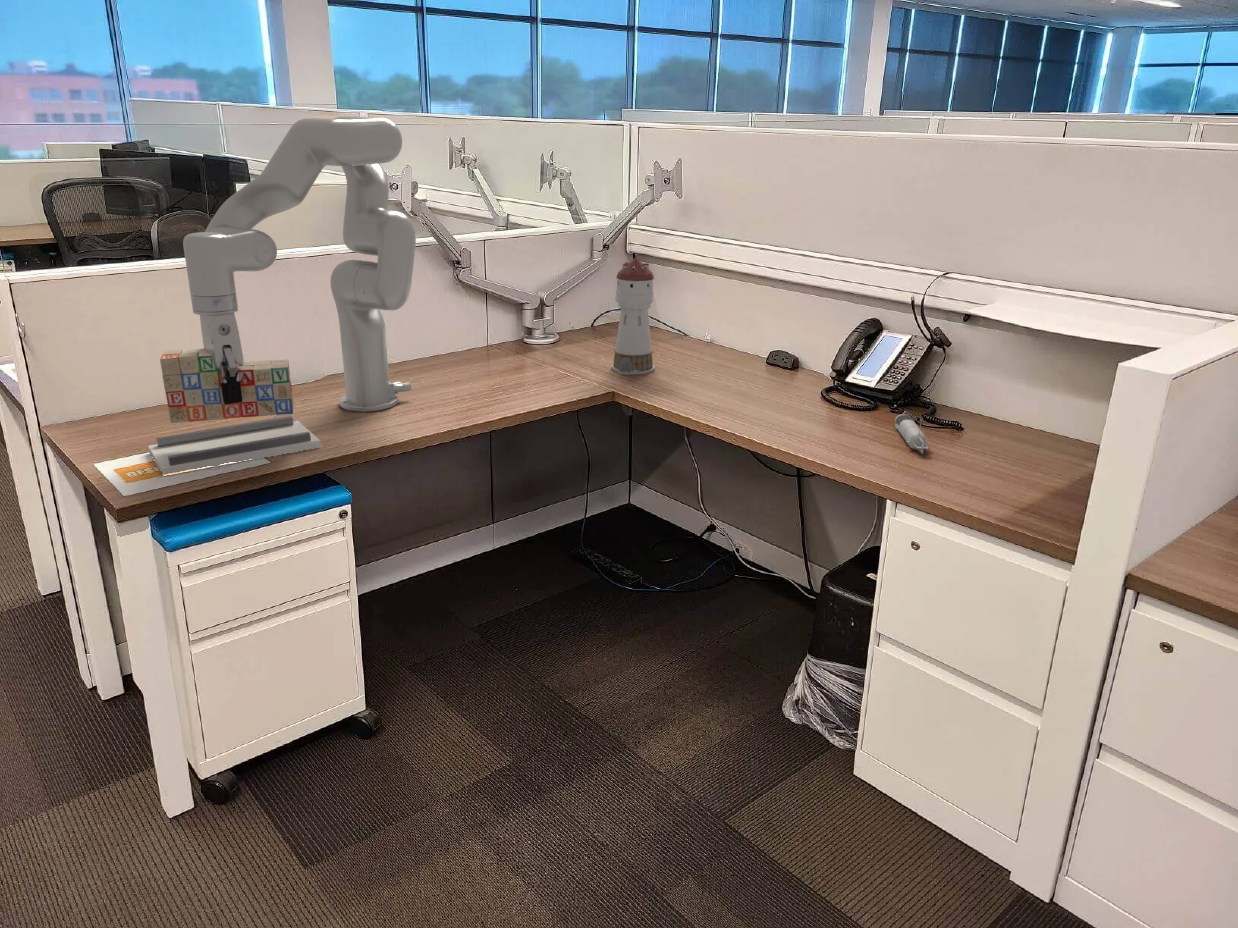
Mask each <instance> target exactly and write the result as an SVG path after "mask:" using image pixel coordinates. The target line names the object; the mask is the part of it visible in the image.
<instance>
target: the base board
mask: <svg viewBox="0 0 1238 928" xmlns="http://www.w3.org/2000/svg"><path fill="white" fill-rule="evenodd" d="M155 439H156V443H155V444H150V445H147V449H148V453H150V454H151V455H150V454H149V455H150V456H152V457H153V459H154V460H155V462H156V464H157V465H156V464H155V465H156V467H157V466H158V467H159V469H160V470H161V472H162V474H168V473H173V472H180V471H185V470H188V469H197V468H202V467H207V466H217V465H220V464H224V463H229V462H239V461H244V460H249V459H257V460H260V459H259V458H262V459H265V458H264V457H268V458H270V457H269V456H273V457H278V455H279V456H282V454H284V455H288V454H287V453H289V454H293V453H299V451H300V452H304V451H303V450H306V451H310V449H311V450H315V448H316V449H319V448H318V447H321V448H322V446H321V439H319V438H318V437H317V436H316V435H315V434H314V433H312V432H311V431H310V430H309V429H308V428H307V427H306V426H305V425H303V423H301V422H300V421H299V420H296V421H295V420H294V417H293V416H291V415H289V416H284V417H276V418H270V419H266V420H265V419H264V420H258V421H253V422H247V423H240V424H234V425H228V426H222V427H215V428H209V429H204V430H198V431H197V430H196V431H191V432H185V433H179V434H173V435H167V436H161V437H156V438H155ZM152 457H151V458H152ZM153 459H152V460H153ZM154 460H153V461H154ZM155 462H154V463H155ZM158 467H157V468H158ZM159 469H158V470H159ZM160 470H159V471H160ZM161 472H160V473H161ZM162 474H161V475H162Z"/></svg>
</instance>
